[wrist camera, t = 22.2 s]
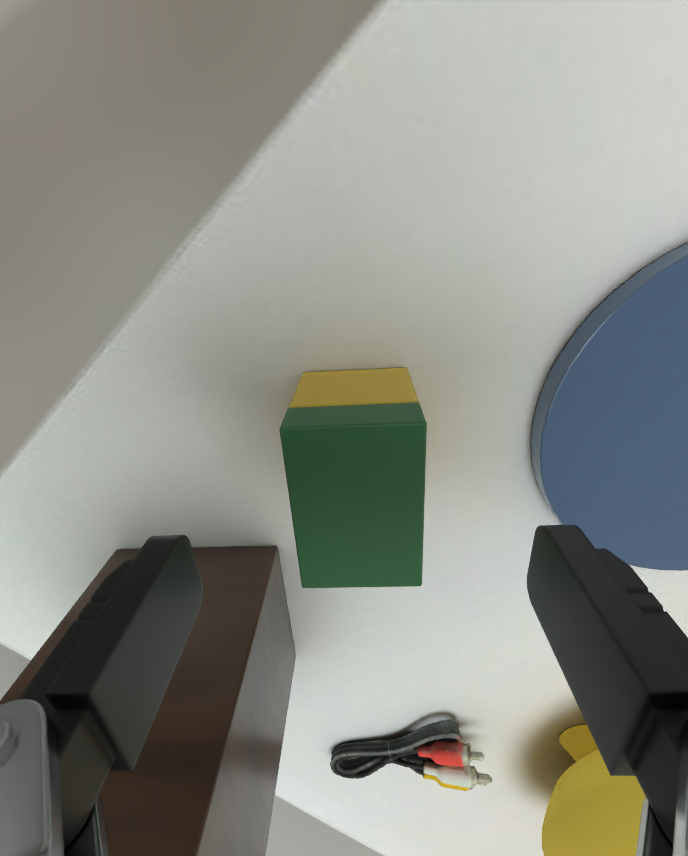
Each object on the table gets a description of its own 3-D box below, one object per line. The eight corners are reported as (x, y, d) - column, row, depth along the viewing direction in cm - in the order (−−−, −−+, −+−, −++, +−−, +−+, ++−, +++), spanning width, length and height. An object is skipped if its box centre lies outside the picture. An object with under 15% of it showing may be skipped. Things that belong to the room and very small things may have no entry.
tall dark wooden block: (115, 549, 20) (-544, 1400, 5) (277, 545, 19) (35, 1466, 5) (157, 656, 23) (-174, 1350, 9) (295, 656, 23) (185, 1387, 8)
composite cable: (335, 763, 27) (333, 810, 25) (319, 722, 25) (315, 769, 23) (483, 752, 26) (495, 800, 24) (478, 708, 24) (490, 757, 22)
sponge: (302, 371, 16) (278, 428, 11) (407, 366, 15) (427, 421, 11) (316, 500, 18) (301, 589, 14) (406, 497, 18) (422, 587, 13)
